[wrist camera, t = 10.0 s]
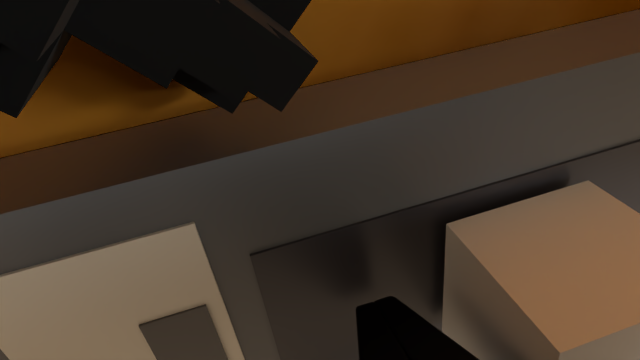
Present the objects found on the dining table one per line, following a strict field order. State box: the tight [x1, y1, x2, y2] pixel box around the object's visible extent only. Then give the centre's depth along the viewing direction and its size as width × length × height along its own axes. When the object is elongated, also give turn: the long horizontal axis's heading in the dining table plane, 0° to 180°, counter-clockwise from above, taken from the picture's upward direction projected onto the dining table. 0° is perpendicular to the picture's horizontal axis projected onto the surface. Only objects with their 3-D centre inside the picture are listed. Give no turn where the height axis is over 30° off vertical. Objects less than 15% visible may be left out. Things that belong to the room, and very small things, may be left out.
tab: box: [442, 180, 640, 360], centre depth 8 cm, size 3×3×3 cm
